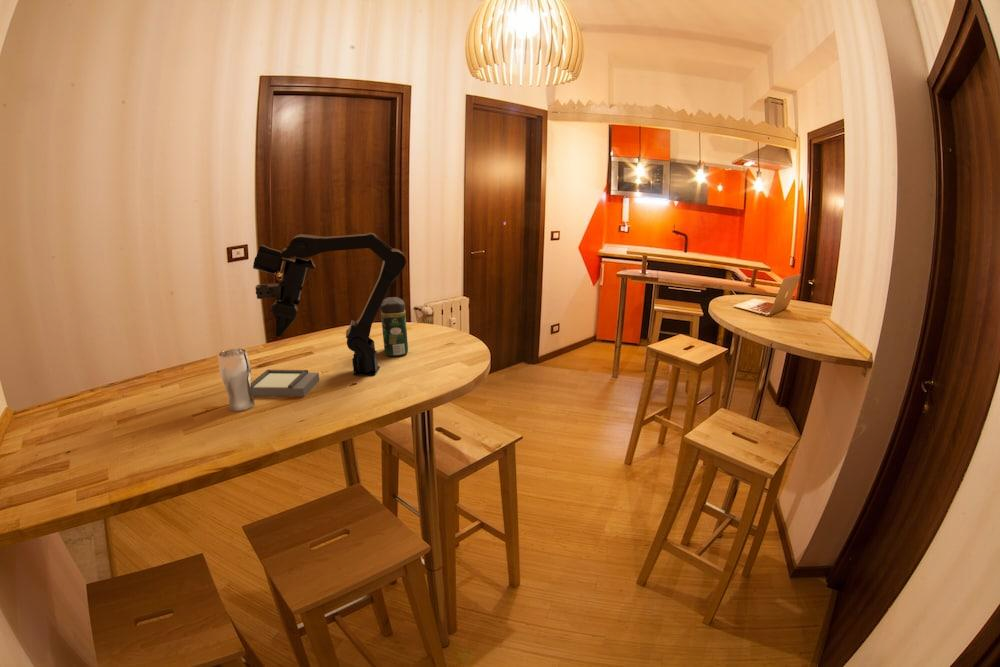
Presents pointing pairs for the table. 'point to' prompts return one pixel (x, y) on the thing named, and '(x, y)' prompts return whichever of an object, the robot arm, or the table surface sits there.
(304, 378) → the dock
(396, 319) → the coffee jar
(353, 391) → the table surface
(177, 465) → the table surface
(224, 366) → the beer glass
